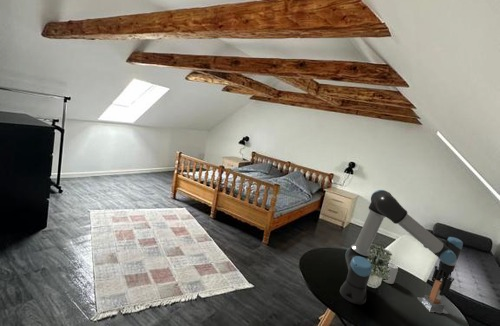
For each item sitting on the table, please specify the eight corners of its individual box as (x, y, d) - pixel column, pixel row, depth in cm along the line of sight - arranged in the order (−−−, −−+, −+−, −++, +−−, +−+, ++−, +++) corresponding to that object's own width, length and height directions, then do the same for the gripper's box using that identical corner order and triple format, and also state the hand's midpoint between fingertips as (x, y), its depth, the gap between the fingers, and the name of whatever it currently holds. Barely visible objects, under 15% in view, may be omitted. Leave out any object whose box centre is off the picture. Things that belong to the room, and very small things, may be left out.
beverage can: (380, 281, 191) (385, 265, 189) (381, 275, 198) (386, 260, 196) (393, 286, 188) (398, 270, 185) (393, 280, 195) (398, 265, 192)
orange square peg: (432, 304, 171) (440, 284, 168) (428, 299, 175) (435, 279, 172) (438, 304, 171) (446, 284, 168) (434, 300, 175) (441, 280, 172)
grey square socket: (429, 311, 167) (431, 305, 167) (417, 298, 179) (419, 292, 178) (448, 314, 168) (450, 308, 167) (434, 300, 180) (436, 294, 179)
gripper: (464, 271, 159) (451, 307, 164) (443, 255, 176) (432, 288, 181) (452, 270, 159) (439, 305, 164) (432, 254, 175) (421, 286, 180)
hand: (435, 296), depth 172 cm, fingers closed on orange square peg, 4 cm apart
